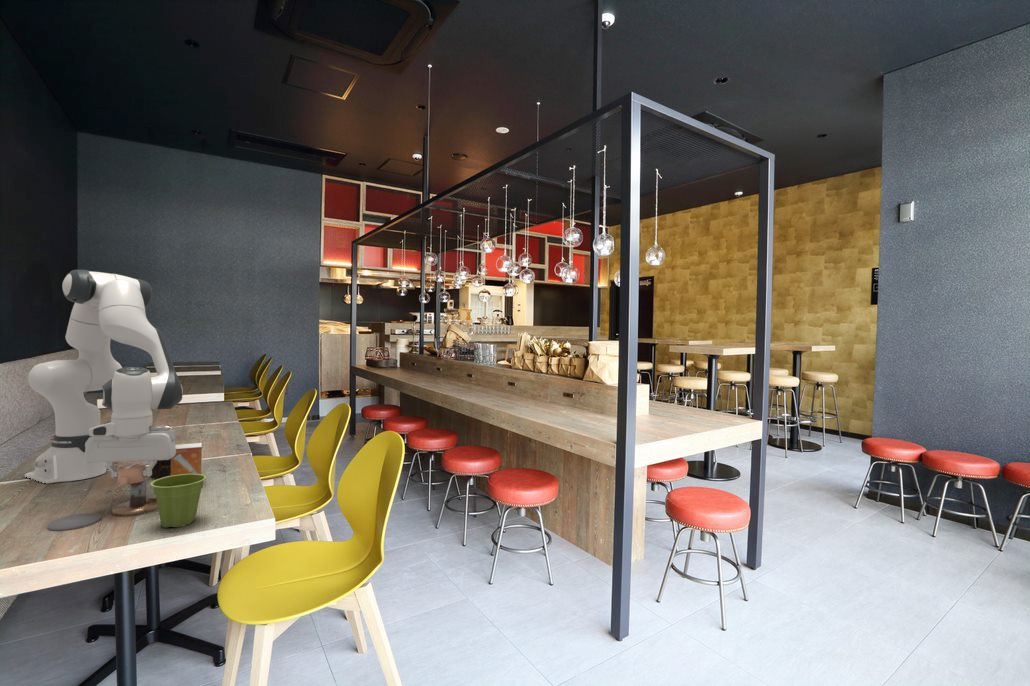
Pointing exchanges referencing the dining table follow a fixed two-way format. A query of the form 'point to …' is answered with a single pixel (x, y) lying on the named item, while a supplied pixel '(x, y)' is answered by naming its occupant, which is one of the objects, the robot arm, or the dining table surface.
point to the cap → (131, 473)
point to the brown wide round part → (136, 502)
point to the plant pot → (178, 498)
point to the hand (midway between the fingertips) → (131, 476)
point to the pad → (74, 521)
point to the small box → (187, 459)
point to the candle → (162, 468)
